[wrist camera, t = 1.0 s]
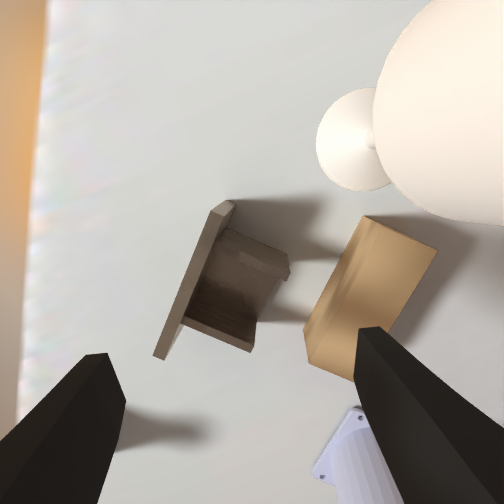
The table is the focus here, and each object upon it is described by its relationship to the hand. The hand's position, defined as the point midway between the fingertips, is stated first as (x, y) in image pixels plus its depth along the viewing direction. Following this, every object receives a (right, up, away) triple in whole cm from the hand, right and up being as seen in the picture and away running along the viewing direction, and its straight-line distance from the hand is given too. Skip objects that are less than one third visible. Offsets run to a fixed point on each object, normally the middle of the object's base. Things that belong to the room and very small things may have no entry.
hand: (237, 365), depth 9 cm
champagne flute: (+8, +11, +13) cm, 19 cm away
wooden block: (+8, +1, +15) cm, 17 cm away
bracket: (0, +1, +15) cm, 16 cm away
